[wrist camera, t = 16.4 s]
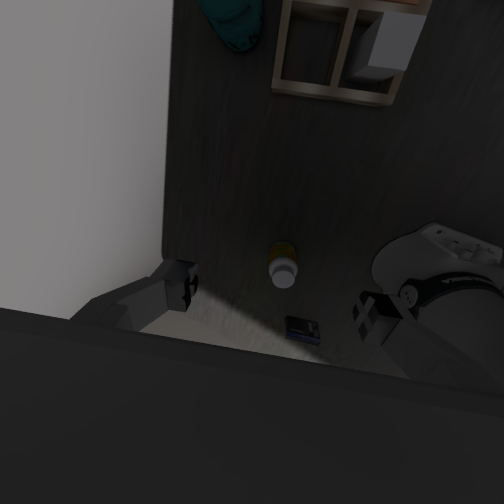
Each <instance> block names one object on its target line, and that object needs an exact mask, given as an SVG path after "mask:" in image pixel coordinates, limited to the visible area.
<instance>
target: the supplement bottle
mask: <svg viewBox="0 0 504 504" xmlns="http://www.w3.org/2000/svg"><path fill="white" fill-rule="evenodd" d="M269 273H270V276H271V277H272V281H273V283H274V285H275V286H277V287H279V288H288V287H290V286H292V285H293V283H294V281H295V276H296V274H297V261H296V254H295V249H294V247H293V246H292V245H291V244H290V243H288V242H283V241H282V242H277V243H275V244H274V245H273V246H272V247H271V250H270V259H269Z"/></svg>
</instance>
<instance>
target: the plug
mask: <svg viewBox="0 0 504 504" xmlns="http://www.w3.org/2000/svg"><path fill="white" fill-rule="evenodd" d="M426 17H427V16H424V15H416V14H408V13H400V12H393V11H384V12H383V13H382V14H381V15H380V16H379V17H378V18H377V20H376V21H375V22H374V23H373V24H372V25H371V26H370V27H369V28H368V29H367V30H366V32H365V33H364V34H363V35H362V36H361V37H360V38H359V39H358V40H357V41H356V42H355V46H354V49H353V53H352V56H351V60H350V64H349V67H348V71H347V74H346V78H345V81H349V82H356V83H363V84H370V85H374V84H376V83H378V82H380V81H383V80H385V79H387V78H390V77H392V76H394V75H396V74H399V73H401V72H403V71H405V70H406V68H407V66H408V63H409V61H410V58H411V56H412V53H413V50H414V48H415V45H416V43H417V40H418V38H419V35H420V33H421V30H422V27H423V25H424V22H425V20H426Z"/></svg>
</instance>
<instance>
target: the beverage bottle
mask: <svg viewBox="0 0 504 504" xmlns="http://www.w3.org/2000/svg"><path fill="white" fill-rule="evenodd" d="M197 1H198V3H199V6H200V7H201V8H200V9H202V11H201V12H204V13H205V16H206V17H207V18H208V20H207V19H206V20H207V21H209V22H208V23H209V24H210V26H212V28H213V29H215V30H214V31H216V33H217V34H218V37H219V39H221V41H222V42H223V43H224V44H225V45H224V46H226V47H228V48H230V49H231V50H233V52H234V51H238V52H239V51H244V52H245V50H247V49H249V48H250V49H251V47H252V46H253V45H254V44H255V43H256V41H257V40H258V38H260V37H259V36H260V33H261V30H262V26H263V24H264V23H263V21H264V15H263V6H264V0H263V4H262V0H197ZM264 12H265V11H264ZM203 15H204V14H203ZM223 43H222V44H223ZM228 48H227V49H228Z"/></svg>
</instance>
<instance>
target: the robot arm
mask: <svg viewBox="0 0 504 504" xmlns="http://www.w3.org/2000/svg"><path fill="white" fill-rule="evenodd" d="M437 231H439V232H437ZM502 254H503V250H502V248H500V247H499V246H497V245H495V244H492V243H489V242H487V241H484V240H481V239H479V238H476V237H473V236H471V235H468V234H465V233H463V232H460V231H457V230H455V229H452V228H449V227H447V226H444V225H442V224H439V223H436V222H432V223H429V224H427V225H425V226H424V227H422V228H421V229H419V230H418V231H416V232H414V233H412V234H409V235H406V236H403V237H400V238H398V239H396V240H394V241H392V242H390V243H389V244H388V245H386V246H385V247H384V248H383V249H382V250H381V251H380V252H379V253H378V254H377V256H376V257H375V259H374V261H373V264H372V269H371V272H372V276H373V279H374V280H375V282H376V283H377V284H378V285H379V286H380V287H381V288H382V291H383V294H382V293H375V292H369V291H363V292H362V293H361V294H360V296H359V298H360V301H359V302H357V303H355V305H354V308H353V319H354V322H355V323H356V324H357V325H358V326H359V329H358V332H359V335H360V337H361V340H362V342H363V343H368V344H373V345H379V346H381V347H382V349H383V350H384V351H385V352H386V353H387V354H388V355H389V356H390V357H391V358H392V359H393V361H394V362H395V363H396V364H397V365H398V366H399V367H400V368H401V369H402V370H403V371H404V372H405V374H406V375H407V376H408V377H409V378H410V379H406V378H400V377H394V376H389V375H383V374H377V373H371V372H366V371H360V370H354V369H349V368H343V367H337V366H332V365H326V364H320V363H314V362H309V361H303V360H297V359H292V358H286V357H280V356H274V355H269V354H263V353H257V352H251V351H246V350H240V349H234V348H229V347H223V346H217V345H211V344H205V343H199V342H194V341H188V340H183V339H177V338H171V337H165V336H160V335H154V334H148V333H143V332H138V331H140V330H141V329H143V328H144V327H146V326H147V325H148V324H150V323H151V322H153V321H154V320H155V319H157V318H158V317H160V316H161V315H162V314H164V313H165V312H167V311H168V310H175V311H182V312H186V311H187V309H188V307H189V305H190V303H191V297H192V296H194V295H195V293H196V290H197V287H198V276H197V275H196V273H197V271H198V264H197V263H194V262H188V261H183V260H177V259H171V258H166V259H165V260H164V261H163V262H162V263H161V264H160V266H159V267H158V268H157V269H156V270H155V271H154V273H153V274H152V275H151V276H150V277H144V278H142V279H140V280H137V281H135V282H132V283H130V284H127V285H125V286H122V287H120V288H117V289H115V290H112V291H110V292H107V293H105V294H102V295H100V296H98V297H95V298H93V299H91V300H90V301H89V302H88V303H87V304H86V305H85V306H83V307H82V308H81V309H80V310H79V311H78V312H77V313H76V314H75V315H74V316H73V317H72V318H70V319H69V320H68V319H63V318H57V317H51V316H45V315H39V314H34V313H28V312H22V311H17V310H11V309H5V308H0V504H504V295H503V293H502V292H501V291H500V290H501V289H502V288H503V286H504V267H503V266H502V265H500V264H499V263H500V261H501V258H502Z"/></svg>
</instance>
